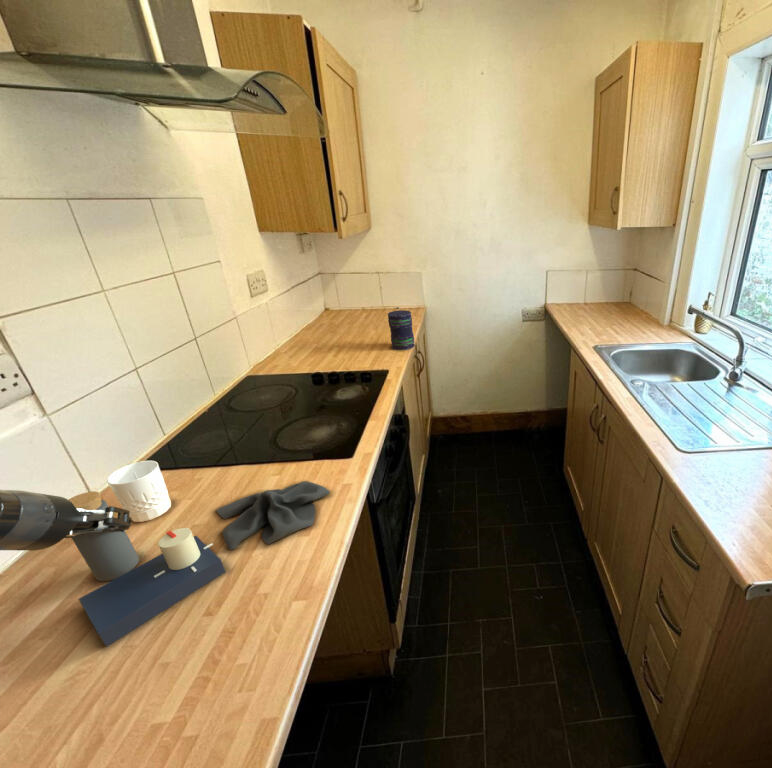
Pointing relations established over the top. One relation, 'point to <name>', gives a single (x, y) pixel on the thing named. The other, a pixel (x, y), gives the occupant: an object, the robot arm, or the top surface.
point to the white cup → (141, 490)
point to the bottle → (104, 544)
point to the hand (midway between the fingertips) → (105, 527)
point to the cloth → (272, 513)
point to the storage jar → (401, 329)
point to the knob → (179, 548)
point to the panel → (146, 593)
